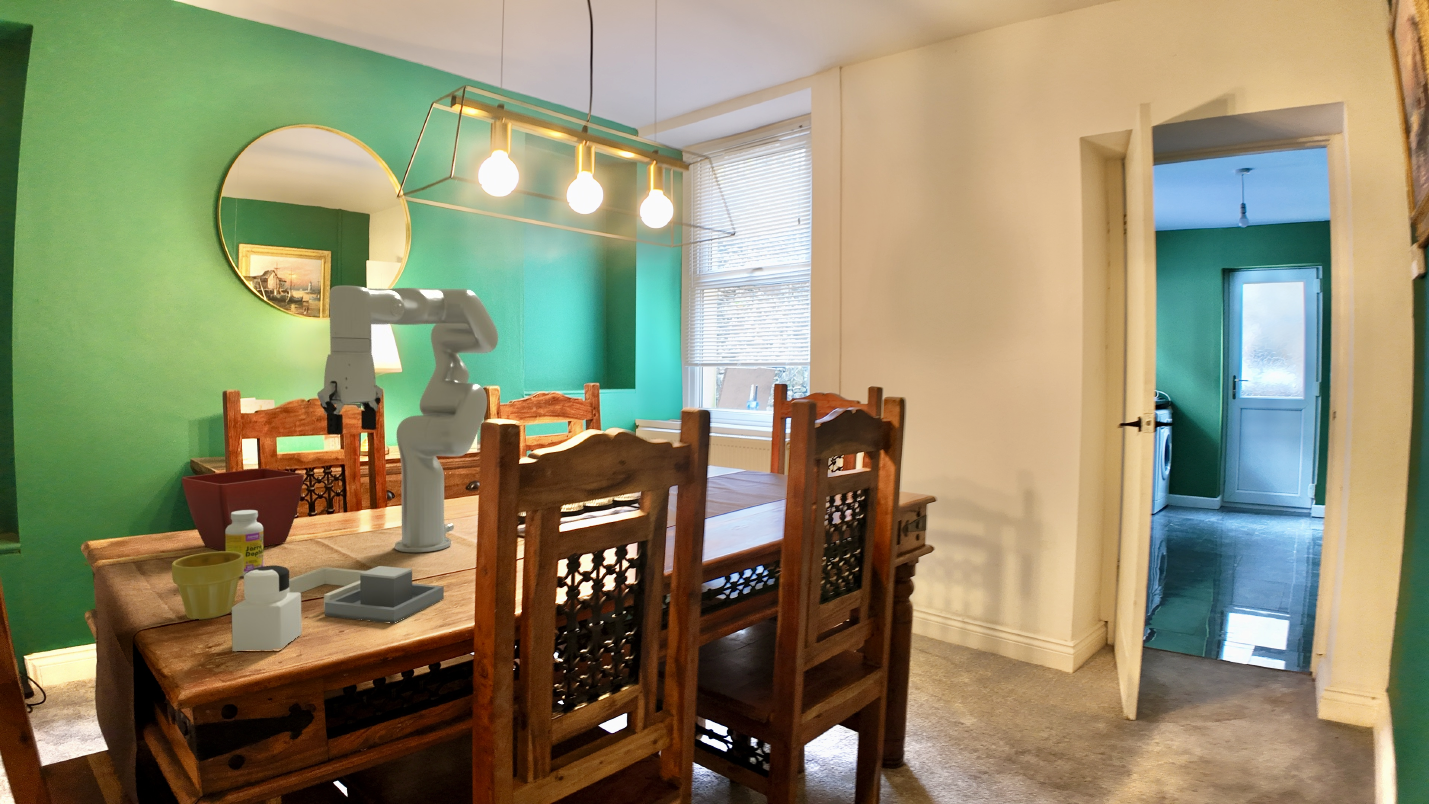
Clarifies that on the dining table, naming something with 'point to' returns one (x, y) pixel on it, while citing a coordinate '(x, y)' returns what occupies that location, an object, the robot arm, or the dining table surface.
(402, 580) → the gray block
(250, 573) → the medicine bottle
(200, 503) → the plant pot
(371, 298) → the robot arm
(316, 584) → the bay
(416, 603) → the tray
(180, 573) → the plant pot
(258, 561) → the supplement bottle
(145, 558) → the dining table surface
